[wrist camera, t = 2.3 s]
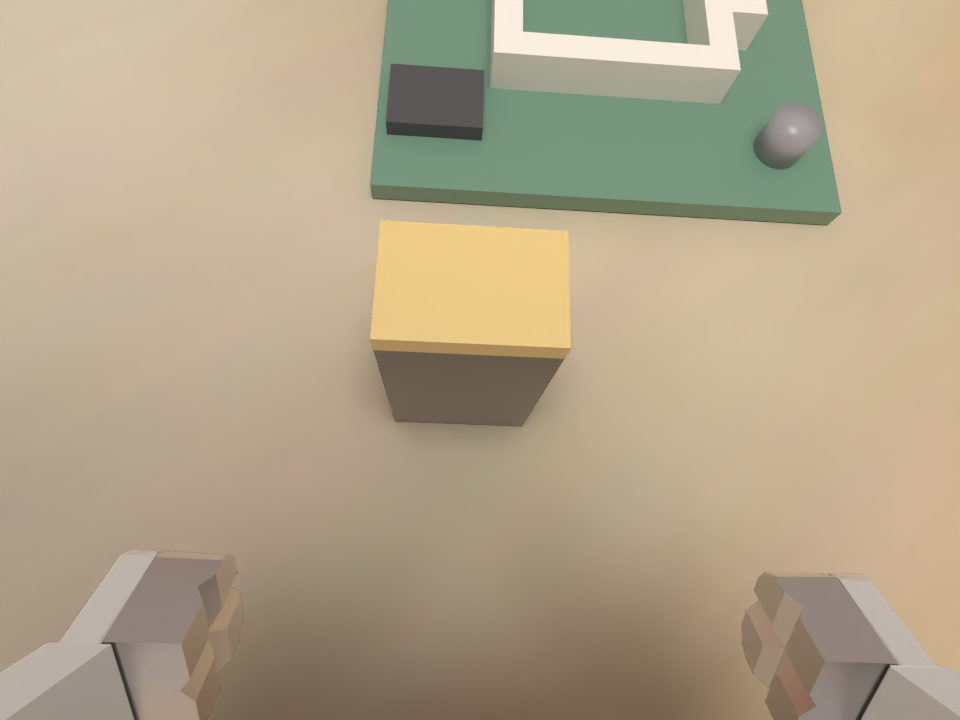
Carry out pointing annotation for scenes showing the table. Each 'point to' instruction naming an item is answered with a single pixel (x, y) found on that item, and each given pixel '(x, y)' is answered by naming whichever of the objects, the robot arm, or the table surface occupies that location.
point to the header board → (605, 108)
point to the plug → (469, 320)
